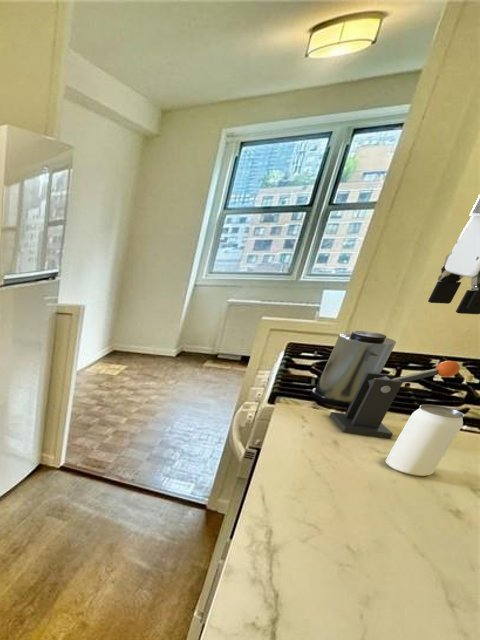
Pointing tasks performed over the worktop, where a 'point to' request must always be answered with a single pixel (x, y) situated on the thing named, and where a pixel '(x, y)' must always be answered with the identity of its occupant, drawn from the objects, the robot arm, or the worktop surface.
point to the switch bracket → (369, 406)
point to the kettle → (351, 366)
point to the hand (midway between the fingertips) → (452, 308)
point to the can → (425, 440)
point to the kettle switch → (430, 372)
